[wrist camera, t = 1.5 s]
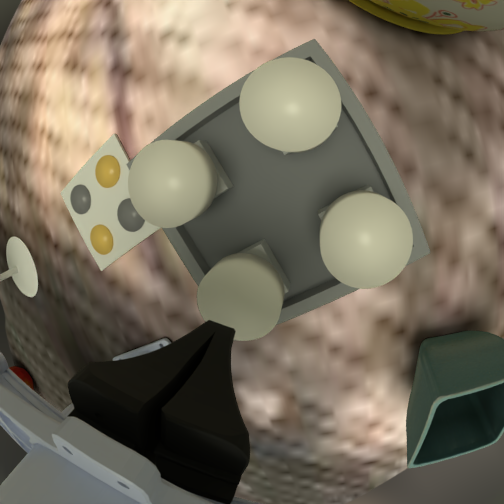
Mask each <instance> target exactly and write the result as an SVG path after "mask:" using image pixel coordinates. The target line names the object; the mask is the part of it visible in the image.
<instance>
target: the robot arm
mask: <svg viewBox="0 0 504 504" xmlns="http://www.w3.org/2000/svg"><path fill="white" fill-rule="evenodd" d="M235 332H236V331H235V329H234V328H231V327H228V326H225V325H222V324H219V323H216V322H214V321H211V320H208V321H206V322H205V323H203V324H202V325H201V326H199V327H198V328H196V329H195V330H193V331H192V332H190V333H188V334H187V335H185V336H183V337H182V338H180V339H178V340H176V341H174V342H172V343H171V342H170V341H169V340H168V339H167V338H163V339H160V340H158V341H155V342H153V343H150V344H148V345H145V346H142V347H140V348H137V349H134V350H132V351H129V352H126V353H124V354H121V355H118V356H116V357H114V358H113V361H107V362H89V363H88V364H87V365H85V366H84V367H83V368H82V369H81V370H80V371H79V372H78V373H77V374H76V375H75V376H74V377H73V378H72V379H71V380H70V381H69V382H68V389H69V394H70V397H71V400H72V404H70V405H69V406H68V407H67V408H65V409H64V410H63V411H62V412H60V411H59V410H57V409H56V408H55V407H53V406H52V405H51V404H49V403H48V402H47V401H46V400H44V399H43V398H42V397H41V396H40V395H38V394H37V393H36V392H35V391H34V390H32V389H31V388H30V387H29V386H28V385H27V384H26V383H24V382H23V381H22V380H21V379H20V378H19V377H18V376H17V375H16V374H15V373H14V372H12V371H11V370H10V369H9V368H8V364H7V361H6V359H5V357H4V356H3V354H2V353H1V352H0V425H1V426H2V427H3V428H4V429H5V430H6V432H7V433H8V434H9V435H10V436H11V437H12V438H13V439H14V440H15V441H16V442H17V443H18V444H19V445H20V446H21V447H22V448H23V449H24V450H25V451H26V452H27V453H28V454H27V455H26V456H25V457H24V459H23V460H22V461H21V462H20V463H19V464H18V465H17V467H16V468H15V469H14V470H13V471H12V472H11V474H10V475H9V476H8V477H7V478H6V479H5V481H4V482H3V483H2V484H1V485H0V504H262V503H257V502H253V501H249V500H245V499H241V498H237V497H234V495H235V491H236V488H237V485H238V484H239V482H240V479H241V475H242V474H243V472H244V470H245V469H246V467H247V466H248V463H249V459H250V442H249V433H248V430H247V428H246V426H245V424H244V422H243V419H242V417H241V414H240V411H239V408H238V405H237V401H236V398H235V393H234V388H233V383H232V375H231V347H232V343H233V340H234V336H235ZM162 344H163V345H162Z"/></svg>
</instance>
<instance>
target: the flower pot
mask: <svg viewBox="0 0 504 504" xmlns="http://www.w3.org/2000/svg"><path fill="white" fill-rule="evenodd" d="M406 432H407V467H408V468H415V467H420V466H425V465H429V464H432V463H437V462H440V461H443V460H447V459H450V458H454V457H457V456H460V455H464V454H467V453H470V452H473V451H476V450H479V449H482V448H484V447H487V446H490V445H492V444H493V443H495V442H497V441H498V439H499V438H500V437H501V435H502V434H503V432H504V339H502V338H501V337H499V336H497V335H494V334H491V333H488V332H483V331H463V332H459V333H454V334H450V335H444V336H439V337H433V338H428V339H425V340H423V342H422V344H421V346H420V349H419V355H418V361H417V366H416V372H415V377H414V382H413V386H412V390H411V394H410V398H409V403H408V409H407V418H406Z"/></svg>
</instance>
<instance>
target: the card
mask: <svg viewBox="0 0 504 504" xmlns="http://www.w3.org/2000/svg"><path fill="white" fill-rule="evenodd" d="M129 161H130V159H129V157H128V155H127V153H126V151H125V149H124V148H123V146H122V144H121V142H120V140H119V138H118V136H117V134H113V135H112V136H111V137H110V138H109V139H108V140H107V141H106V142H105V143H104V144H103V145H102V146H101V148H100V149H99V150H98V151H97V152H96V153H95V154H94V155H93V156H92V157H91V158H90V159H89V160H88V161H87V162H86V164H85V165H84V166H83V167H82V168H81V169H80V170H79V171H78V173H77V174H76V175H75V176H74V177H73V178H72V180H71V181H70V182H69V183H68V184H67V186H66V187H65V188H64V189H63V191H62V192H61V195H62V197H63V199H64V202H65V204H66V206H67V208H68V210H69V212H70V214H71V216H72V218H73V220H74V222H75V224H76V226H77V228H78V230H79V232H80V234H81V236H82V238H83V239H84V241H85V243H86V245H87V247H88V249H89V250H90V252H91V254H92V256H93V258H94V259H95V261H96V263H97V264H98V266H99V268H100V270H101V271H102V270H104V269H105V268H106V267H108V266H109V265H110V264H112V263H113V262H114V261H116V260H117V259H118V258H120V257H121V256H122V255H124V254H125V253H126V252H128V251H129V250H131V249H132V248H133V247H135V246H136V245H137V244H139V243H140V242H142V241H143V240H144V239H146V238H147V237H149V236H150V235H151V234H153V233H154V232H156V231H157V230H159V229H160V228H161V227H157V226H154V225H152V224H150V223H148V222H147V221H146V220H144V219H143V218H142V217H141V216H140V215H139V214H138V212H137V211H136V209H135V208H134V206H133V204H132V202H131V199H130V195H129V190H128V176H129V171H130V170H129V168H128V167H127V165H126V164H127V163H128V162H129Z"/></svg>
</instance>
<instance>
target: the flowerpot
mask: <svg viewBox="0 0 504 504" xmlns="http://www.w3.org/2000/svg"><path fill="white" fill-rule="evenodd" d="M349 1H350V2H352V3H353V4H355V5H357V6H358V7H360V8H362V9H363V10H365V11H367V12H369V13H371V14H373V15H375V16H377V17H379V18H382V19H384V20H386V21H389V22H391V23H394V24H396V25H399V26H402V27H405V28H408V29H412V30H415V31H420V32H425V33H431V34H455V33H459V32H463V31H494V30H502V29H504V0H349Z"/></svg>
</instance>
